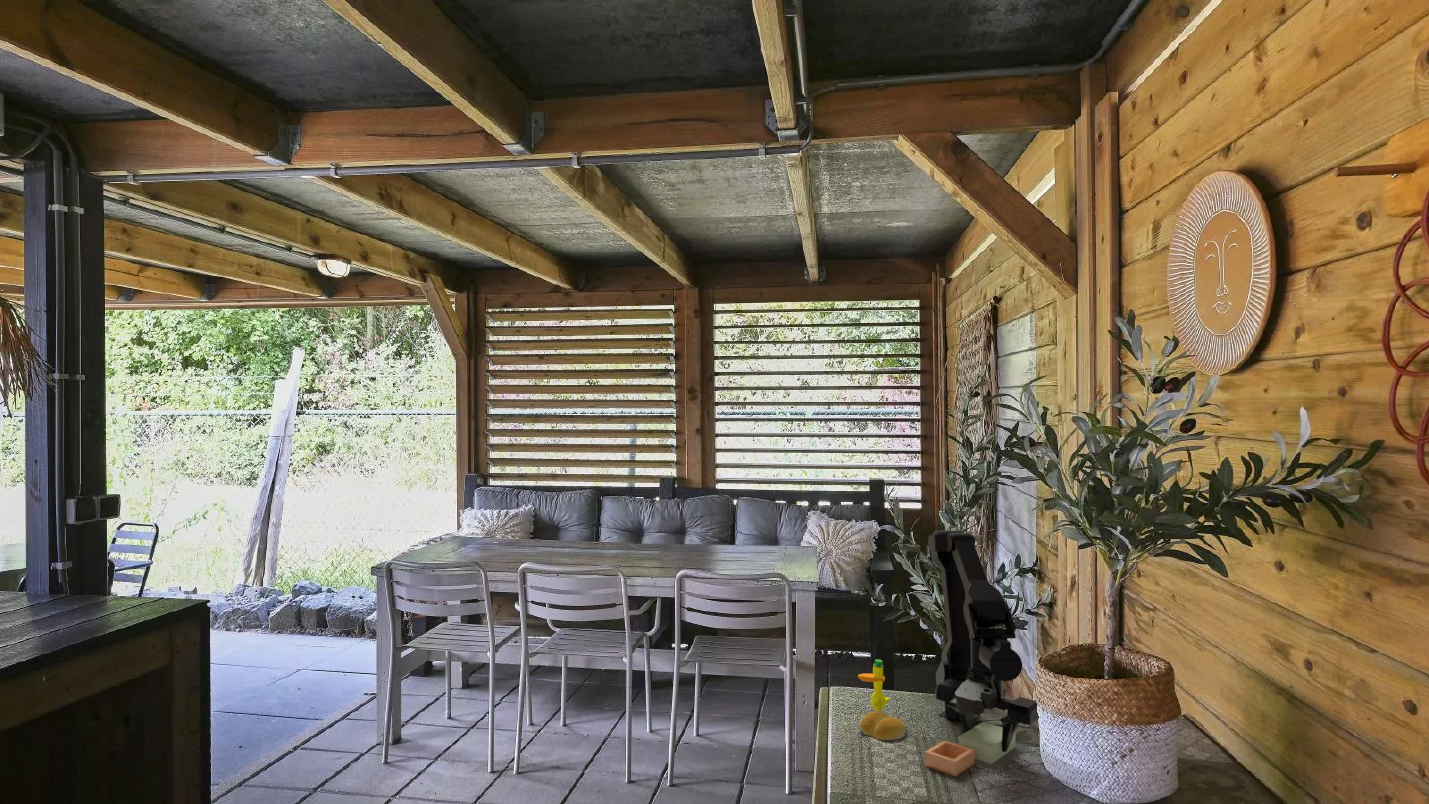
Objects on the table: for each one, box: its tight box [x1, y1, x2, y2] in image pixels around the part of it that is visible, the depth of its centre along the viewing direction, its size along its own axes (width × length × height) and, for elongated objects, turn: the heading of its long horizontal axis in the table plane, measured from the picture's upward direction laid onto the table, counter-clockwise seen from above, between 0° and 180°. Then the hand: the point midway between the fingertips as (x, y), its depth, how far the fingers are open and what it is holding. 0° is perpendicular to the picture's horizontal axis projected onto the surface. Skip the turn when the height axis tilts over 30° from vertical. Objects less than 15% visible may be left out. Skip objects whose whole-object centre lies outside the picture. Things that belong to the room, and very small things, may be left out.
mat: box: [974, 742, 1030, 772], centre depth 149 cm, size 14×10×1 cm
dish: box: [924, 739, 975, 777], centre depth 143 cm, size 7×6×3 cm
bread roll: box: [859, 710, 907, 741], centre depth 159 cm, size 8×9×4 cm
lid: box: [957, 721, 1016, 764], centre depth 149 cm, size 10×6×3 cm, turn 135°
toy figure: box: [857, 658, 891, 712], centre depth 167 cm, size 7×4×12 cm, turn 76°
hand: (987, 745), depth 149 cm, fingers closed on lid, 6 cm apart
